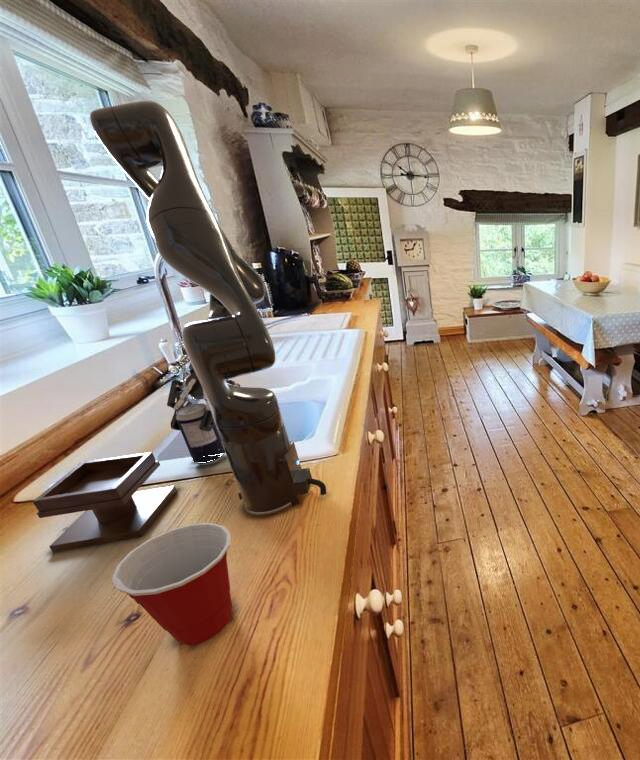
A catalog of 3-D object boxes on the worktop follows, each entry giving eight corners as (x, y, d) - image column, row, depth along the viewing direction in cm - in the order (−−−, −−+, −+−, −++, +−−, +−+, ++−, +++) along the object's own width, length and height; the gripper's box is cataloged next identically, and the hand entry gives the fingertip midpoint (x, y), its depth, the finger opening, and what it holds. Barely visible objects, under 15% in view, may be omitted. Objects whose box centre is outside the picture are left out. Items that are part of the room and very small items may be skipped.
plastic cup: (265, 624, 51) (237, 553, 46) (157, 688, 45) (111, 612, 40) (246, 572, 59) (220, 506, 54) (151, 620, 52) (112, 550, 48)
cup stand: (177, 490, 77) (158, 448, 73) (141, 536, 66) (117, 490, 62) (102, 502, 74) (79, 460, 71) (52, 552, 64) (22, 505, 60)
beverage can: (232, 452, 88) (215, 402, 84) (213, 467, 83) (193, 415, 79) (208, 451, 89) (189, 402, 84) (187, 466, 84) (166, 415, 79)
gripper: (171, 345, 85) (140, 424, 79) (235, 345, 83) (209, 425, 77) (200, 360, 92) (174, 433, 86) (259, 360, 90) (237, 435, 84)
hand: (190, 429), depth 81 cm, fingers closed on beverage can, 5 cm apart
